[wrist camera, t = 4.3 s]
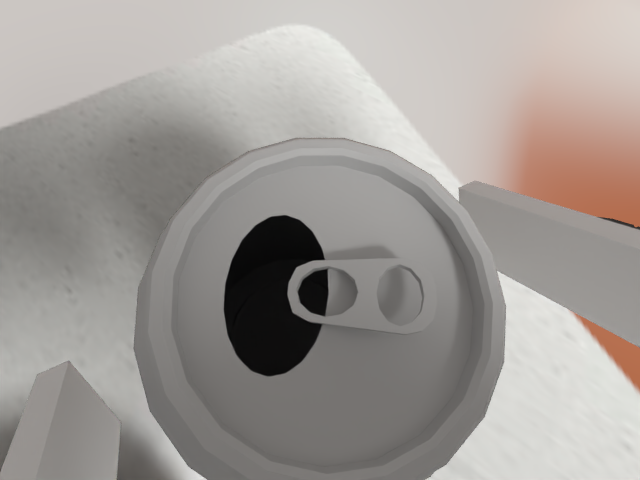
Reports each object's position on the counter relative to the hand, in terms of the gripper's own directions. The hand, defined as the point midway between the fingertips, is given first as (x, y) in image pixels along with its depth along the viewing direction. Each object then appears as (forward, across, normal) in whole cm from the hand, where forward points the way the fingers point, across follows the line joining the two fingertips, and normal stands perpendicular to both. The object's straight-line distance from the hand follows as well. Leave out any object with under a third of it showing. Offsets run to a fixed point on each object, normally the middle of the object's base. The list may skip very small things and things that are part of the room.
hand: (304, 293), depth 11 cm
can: (+4, 0, -5) cm, 7 cm away
